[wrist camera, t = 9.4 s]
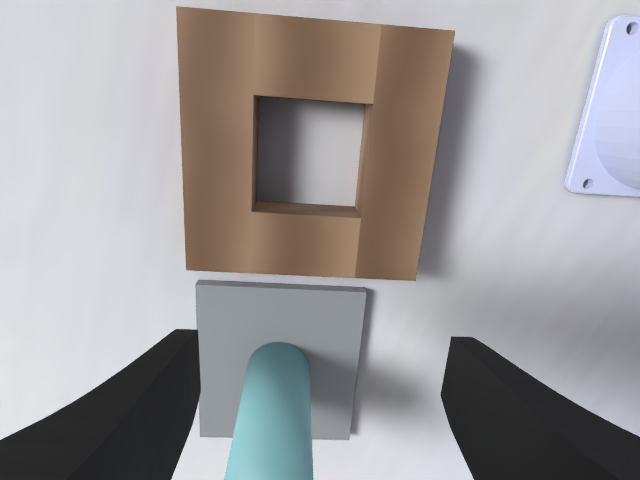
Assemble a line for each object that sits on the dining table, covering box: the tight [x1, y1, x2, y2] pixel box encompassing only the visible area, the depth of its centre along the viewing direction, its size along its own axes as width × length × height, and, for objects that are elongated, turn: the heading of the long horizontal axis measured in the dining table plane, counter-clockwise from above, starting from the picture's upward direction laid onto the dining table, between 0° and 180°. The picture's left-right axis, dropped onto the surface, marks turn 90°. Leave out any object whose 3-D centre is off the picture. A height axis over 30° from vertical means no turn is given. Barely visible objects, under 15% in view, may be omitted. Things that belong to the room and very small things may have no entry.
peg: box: [224, 342, 313, 480], centre depth 19 cm, size 4×4×8 cm
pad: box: [196, 280, 367, 440], centre depth 23 cm, size 9×10×1 cm
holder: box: [176, 6, 455, 281], centre depth 19 cm, size 11×11×2 cm
